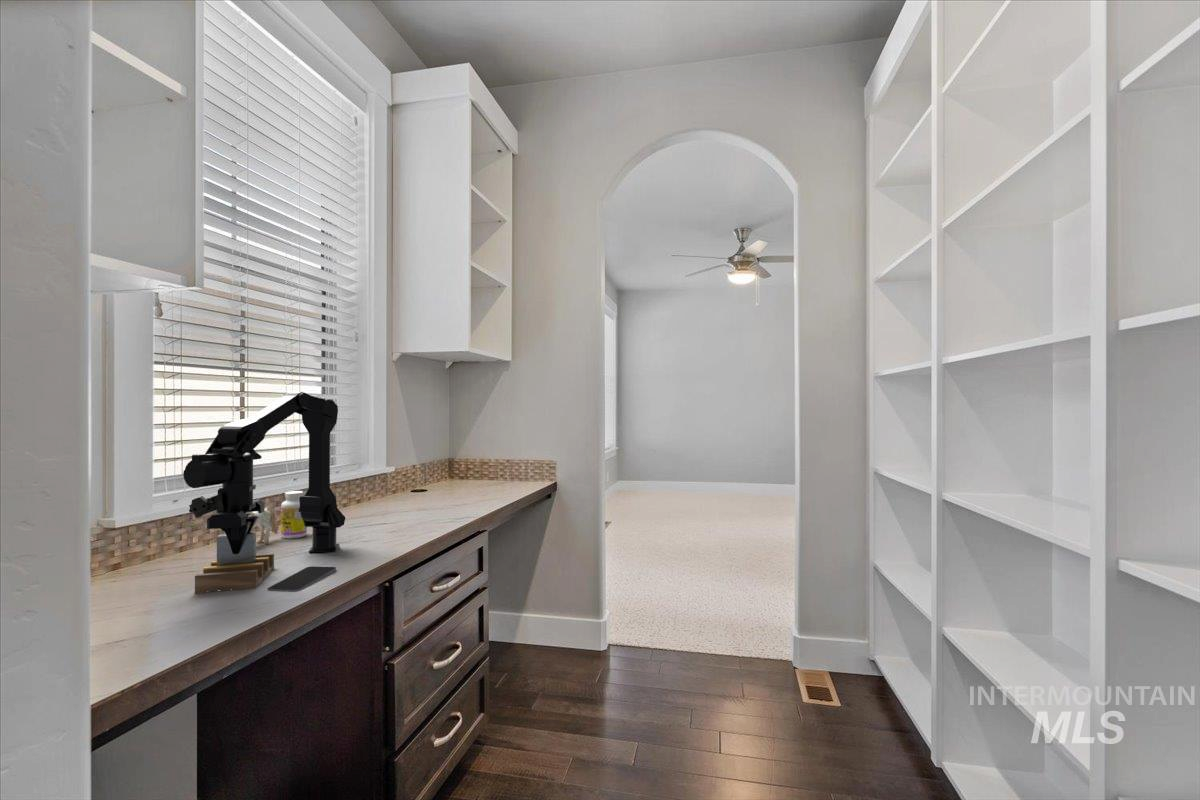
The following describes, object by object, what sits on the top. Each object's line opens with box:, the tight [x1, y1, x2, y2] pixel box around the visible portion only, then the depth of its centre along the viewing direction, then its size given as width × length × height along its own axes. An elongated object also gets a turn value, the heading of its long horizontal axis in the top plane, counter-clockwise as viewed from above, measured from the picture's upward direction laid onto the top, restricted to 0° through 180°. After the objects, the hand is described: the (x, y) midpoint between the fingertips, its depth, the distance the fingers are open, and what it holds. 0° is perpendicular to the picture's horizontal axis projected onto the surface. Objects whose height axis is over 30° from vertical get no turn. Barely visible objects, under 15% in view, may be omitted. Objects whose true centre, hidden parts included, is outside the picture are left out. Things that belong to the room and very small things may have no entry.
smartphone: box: [267, 565, 337, 593], centre depth 125 cm, size 7×1×15 cm
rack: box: [194, 552, 275, 594], centre depth 125 cm, size 15×11×4 cm
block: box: [216, 531, 257, 566], centre depth 125 cm, size 2×7×8 cm, turn 107°
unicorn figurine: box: [249, 506, 280, 546], centre depth 152 cm, size 7×20×13 cm, turn 6°
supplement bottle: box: [280, 490, 308, 540], centre depth 165 cm, size 7×7×13 cm
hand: (237, 552), depth 125 cm, fingers closed on block, 2 cm apart
